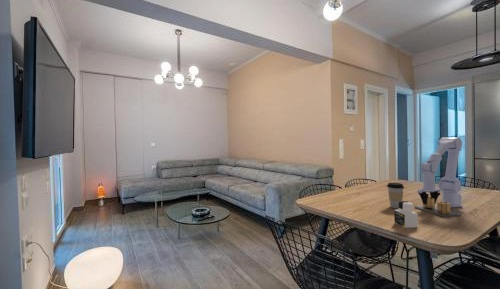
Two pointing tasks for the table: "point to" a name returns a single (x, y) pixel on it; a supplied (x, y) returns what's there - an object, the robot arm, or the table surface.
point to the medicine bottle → (406, 215)
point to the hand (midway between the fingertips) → (429, 203)
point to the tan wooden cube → (430, 203)
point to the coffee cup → (395, 194)
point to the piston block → (439, 209)
